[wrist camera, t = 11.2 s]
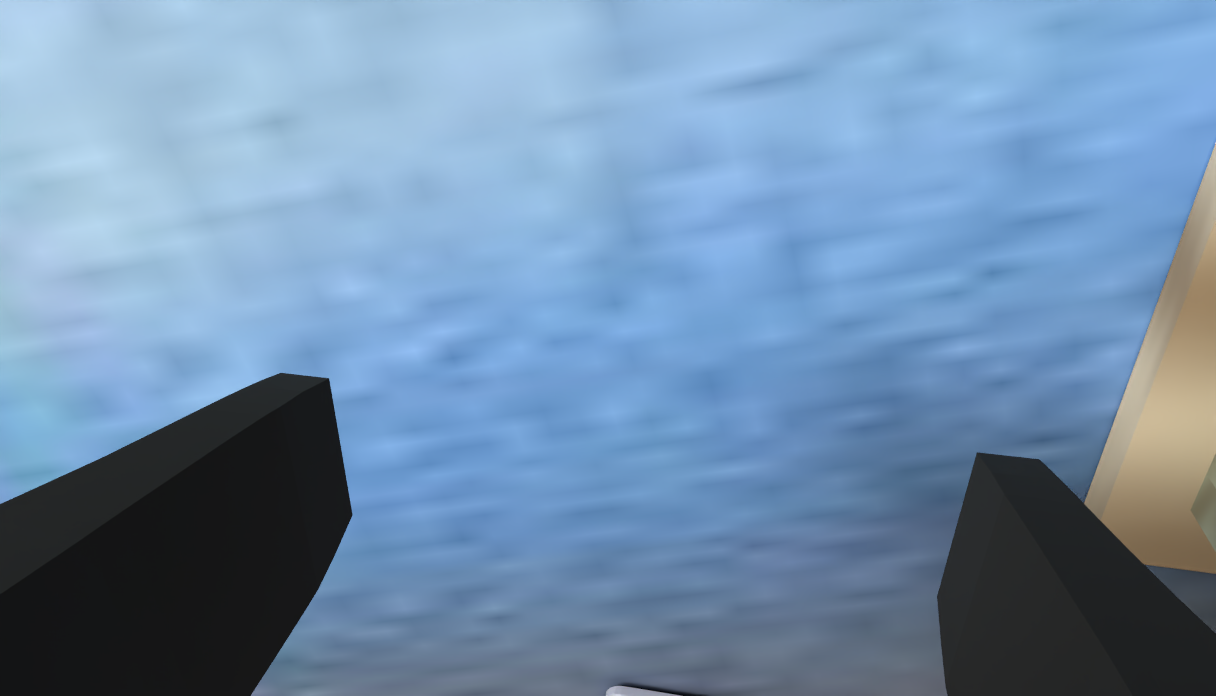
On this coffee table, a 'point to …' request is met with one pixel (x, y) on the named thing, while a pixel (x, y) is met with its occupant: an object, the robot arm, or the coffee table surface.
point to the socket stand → (1170, 415)
